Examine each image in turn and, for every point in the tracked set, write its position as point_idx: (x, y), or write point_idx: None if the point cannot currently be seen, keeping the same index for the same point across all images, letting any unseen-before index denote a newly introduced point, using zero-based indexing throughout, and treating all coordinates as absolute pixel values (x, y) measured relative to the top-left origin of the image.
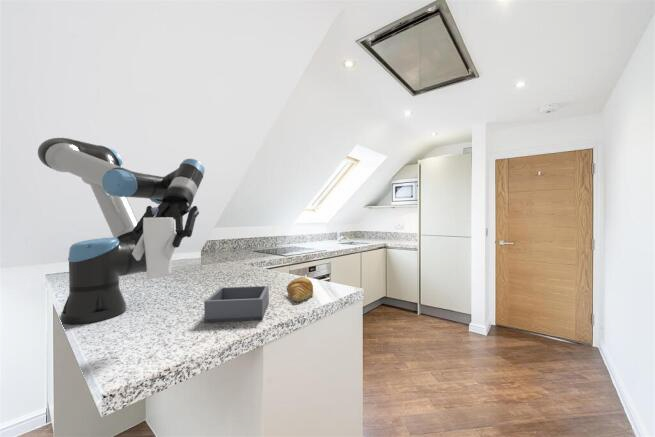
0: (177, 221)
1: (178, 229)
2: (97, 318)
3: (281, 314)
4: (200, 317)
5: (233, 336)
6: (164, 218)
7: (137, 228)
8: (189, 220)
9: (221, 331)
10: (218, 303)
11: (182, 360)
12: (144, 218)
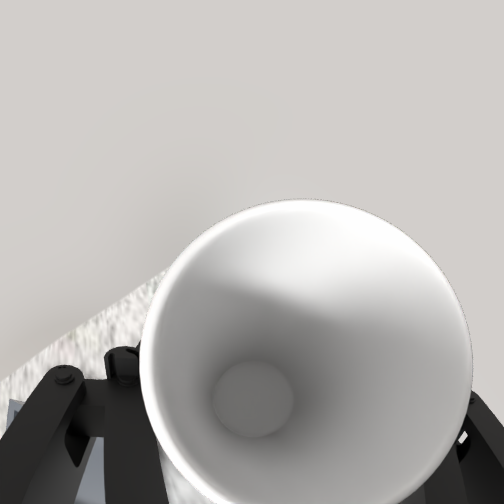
0: (140, 498)
1: (118, 356)
2: None
3: (6, 418)
4: (171, 483)
5: (85, 342)
6: (214, 228)
7: (469, 406)
8: (8, 458)
9: (106, 377)
10: (103, 437)
11: (158, 277)
12: (414, 246)
